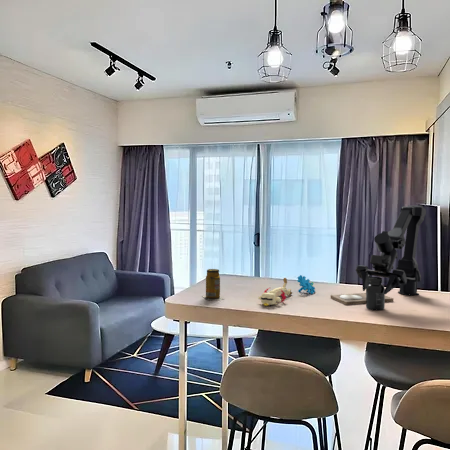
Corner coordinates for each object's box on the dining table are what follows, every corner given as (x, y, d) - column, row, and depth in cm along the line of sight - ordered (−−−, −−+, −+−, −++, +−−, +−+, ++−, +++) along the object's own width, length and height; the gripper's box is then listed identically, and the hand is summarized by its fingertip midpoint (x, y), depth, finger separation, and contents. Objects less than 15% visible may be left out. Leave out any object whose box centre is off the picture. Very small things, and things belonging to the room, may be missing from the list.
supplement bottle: (384, 307, 170) (385, 276, 169) (384, 311, 164) (385, 279, 163) (365, 305, 173) (366, 275, 172) (365, 310, 166) (366, 278, 165)
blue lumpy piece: (308, 292, 189) (295, 274, 194) (299, 300, 191) (286, 282, 196) (321, 291, 197) (308, 274, 202) (312, 299, 199) (300, 282, 204)
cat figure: (275, 296, 195) (253, 304, 172) (275, 276, 195) (254, 281, 172) (296, 298, 190) (277, 307, 168) (297, 278, 190) (277, 284, 168)
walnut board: (376, 294, 191) (376, 291, 191) (393, 301, 180) (393, 298, 179) (330, 298, 185) (330, 294, 185) (345, 304, 174) (345, 301, 174)
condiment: (218, 295, 191) (218, 268, 190) (224, 299, 183) (224, 271, 182) (202, 296, 188) (201, 269, 187) (208, 301, 180) (208, 272, 179)
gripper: (358, 245, 176) (344, 276, 169) (405, 249, 163) (392, 282, 156) (366, 262, 182) (353, 293, 175) (412, 267, 169) (400, 300, 162)
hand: (373, 292), depth 167 cm, fingers open, 8 cm apart
